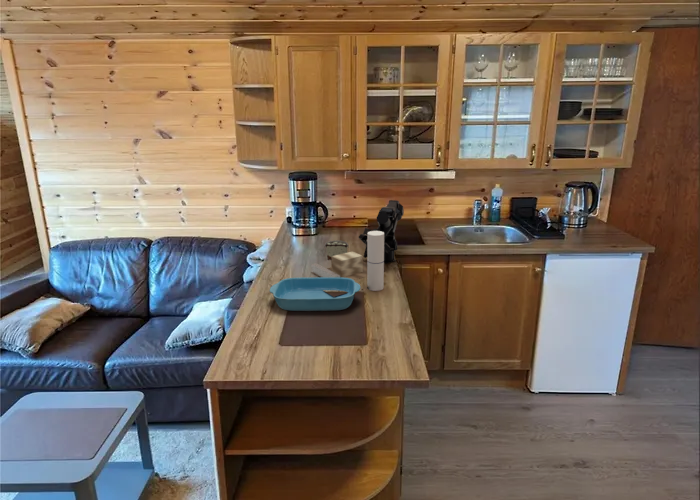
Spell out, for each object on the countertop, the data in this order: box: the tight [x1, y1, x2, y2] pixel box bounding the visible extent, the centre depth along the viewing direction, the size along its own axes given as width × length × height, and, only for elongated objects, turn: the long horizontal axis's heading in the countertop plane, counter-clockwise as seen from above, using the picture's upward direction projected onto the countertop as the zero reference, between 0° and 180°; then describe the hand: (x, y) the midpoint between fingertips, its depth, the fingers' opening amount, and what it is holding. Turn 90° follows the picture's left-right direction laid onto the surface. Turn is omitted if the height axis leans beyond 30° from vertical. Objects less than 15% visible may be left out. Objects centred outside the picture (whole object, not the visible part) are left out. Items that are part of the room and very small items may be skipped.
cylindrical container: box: [366, 231, 385, 292], centre depth 203 cm, size 7×7×25 cm
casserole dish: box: [269, 276, 361, 312], centre depth 192 cm, size 37×22×7 cm, turn 89°
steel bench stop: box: [311, 262, 340, 277], centre depth 214 cm, size 2×20×4 cm, turn 36°
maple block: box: [331, 251, 364, 277], centre depth 220 cm, size 12×8×8 cm, turn 126°
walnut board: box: [311, 261, 386, 281], centre depth 222 cm, size 29×20×2 cm
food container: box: [324, 239, 350, 261], centre depth 240 cm, size 12×6×10 cm, turn 84°
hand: (364, 257), depth 225 cm, fingers closed
